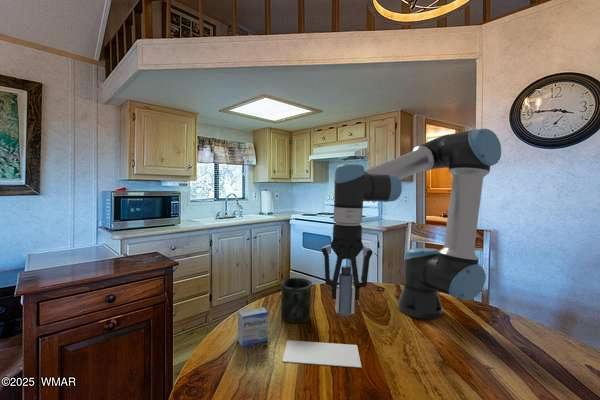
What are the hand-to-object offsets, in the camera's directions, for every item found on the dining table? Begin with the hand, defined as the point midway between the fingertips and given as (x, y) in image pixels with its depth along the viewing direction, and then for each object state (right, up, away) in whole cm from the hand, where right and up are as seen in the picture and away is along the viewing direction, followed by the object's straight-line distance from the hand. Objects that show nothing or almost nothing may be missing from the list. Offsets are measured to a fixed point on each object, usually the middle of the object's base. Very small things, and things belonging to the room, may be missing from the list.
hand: (344, 311), depth 75 cm
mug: (-13, -11, +21) cm, 27 cm away
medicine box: (-26, -11, +7) cm, 29 cm away
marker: (0, -1, 0) cm, 1 cm away
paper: (-6, -12, +1) cm, 13 cm away
